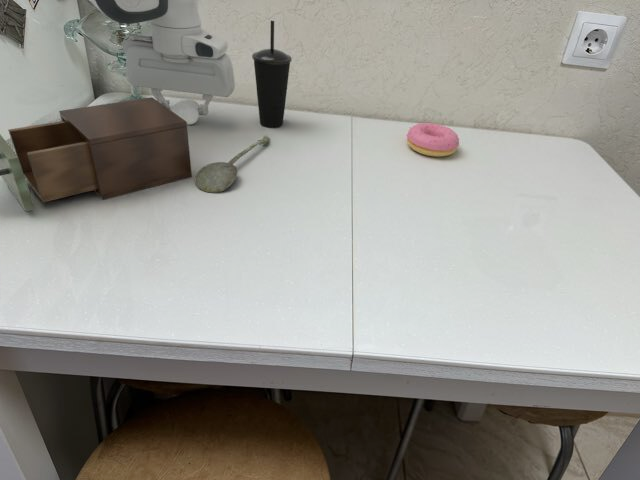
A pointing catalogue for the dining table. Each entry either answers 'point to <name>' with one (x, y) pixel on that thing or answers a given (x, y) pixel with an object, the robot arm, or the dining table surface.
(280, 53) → the drinking cup
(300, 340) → the dining table surface
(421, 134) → the doughnut
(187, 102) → the dumpling
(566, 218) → the dining table surface
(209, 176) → the soupspoon
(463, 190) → the dining table surface
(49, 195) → the drawer
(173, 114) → the cabinet
